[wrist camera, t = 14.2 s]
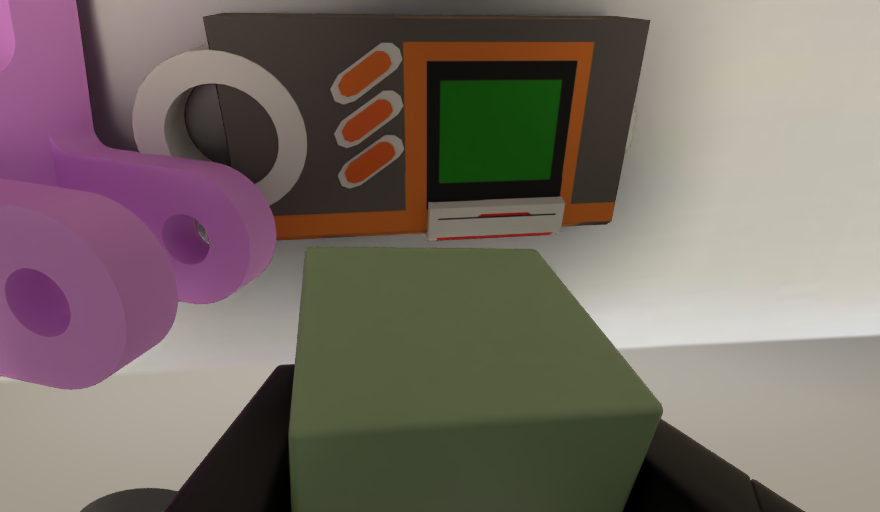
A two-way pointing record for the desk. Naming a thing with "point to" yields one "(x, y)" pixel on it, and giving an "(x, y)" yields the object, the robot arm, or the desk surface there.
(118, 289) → the bracket
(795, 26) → the desk surface
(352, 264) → the block
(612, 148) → the electronic device
